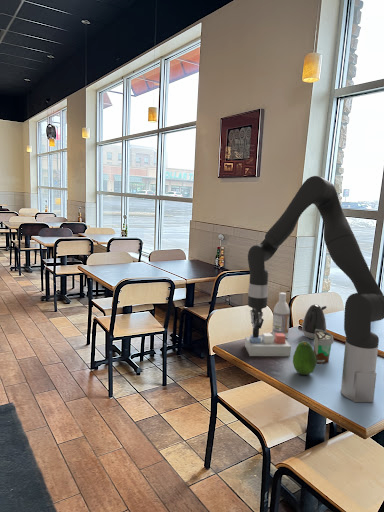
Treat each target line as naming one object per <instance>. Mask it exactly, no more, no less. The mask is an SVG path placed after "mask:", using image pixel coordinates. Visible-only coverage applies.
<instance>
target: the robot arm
mask: <svg viewBox="0 0 384 512" xmlns="http://www.w3.org/2000/svg"><path fill="white" fill-rule="evenodd" d="M298 189H299V190H298V191H297V192H296V193H295V195H294V197H293V198H292V200H291V201H290V203H289V204H288V206H287V207H286V209H285V210H284V212H283V213H282V214H281V216H280V217H279V218H278V219H277V220H276V221H275V223H274V224H273V225H272V226H271V227H270V228H269V230H267V232H266V233H265V235H264V239H263V240H262V241H261V242H260V243H259V244H255V245H252V246H251V247H250V248H249V249H248V251H247V252H248V253H247V263H248V269H249V284H248V289H247V290H248V291H247V294H248V295H247V306H248V307H249V308H251V309H250V311H249V312H250V320H251V322H250V323H251V325H252V335H253V337H259V336H260V329H262V327H263V324H264V318H263V316H264V312H263V309H266V308H267V306H268V295H269V294H268V291H269V288H268V281H269V273H268V270H267V269H266V267H265V262H268V261H269V260H270V259H271V258H273V256H274V255H275V253H276V252H277V250H278V249H279V247H280V246H281V245H282V244H284V242H285V241H286V240H287V239H288V238H289V237H290V235H292V233H293V231H295V229H296V226H297V223H298V221H299V219H300V218H301V215H302V214H303V213H304V211H306V210H307V208H309V207H310V206H311V205H315V207H316V208H317V210H318V212H319V213H320V217H321V218H322V221H323V239H324V243H325V246H326V249H327V252H328V253H329V256H330V258H331V260H332V262H333V263H334V265H336V266H337V267H338V269H340V270H341V272H343V273H344V275H346V276H347V277H348V278H349V280H350V281H351V282H352V285H353V287H354V288H355V290H356V292H354V293H352V294H349V296H348V297H347V298H346V301H345V304H344V317H343V318H344V319H343V329H344V334H345V343H344V344H345V345H344V353H343V362H342V363H343V364H342V376H341V385H340V393H341V395H342V396H343V397H345V398H347V399H349V400H351V401H352V402H353V403H374V401H375V391H376V390H375V389H376V381H377V372H376V370H377V369H376V368H377V360H378V352H379V343H380V339H379V336H378V335H377V334H376V333H374V332H373V331H371V330H372V329H371V327H372V326H371V325H372V322H379V321H382V320H384V293H383V291H382V290H381V288H380V286H379V285H378V283H377V281H376V279H375V277H374V276H373V273H372V272H371V270H370V267H369V265H368V263H367V261H366V259H365V257H364V255H363V253H362V250H361V247H360V244H359V243H358V240H357V238H356V237H355V234H354V232H353V229H352V228H351V226H350V224H349V221H348V219H347V217H346V215H345V213H344V211H343V209H342V206H341V202H340V198H339V196H338V192H337V189H336V187H335V185H334V184H333V183H332V182H331V181H330V180H328V179H326V178H324V177H321V176H320V175H313V176H310V177H308V178H307V179H306V180H305V181H304V182H302V185H301V186H300V188H298Z"/></svg>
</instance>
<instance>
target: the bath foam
mask: <svg viewBox="0 0 384 512" xmlns="http://www.w3.org/2000/svg"><path fill="white" fill-rule="evenodd" d="M286 300H287V293H286V292H278V301H277V303H276V304H275V305H274V307H273V316H272V328H271V329H272V333H271V334H272V335H273V337H275V333H283V334H284V335H285V336H286V338H285V340H287V338H288V337H289V328H290V315H291V313H290V306H289V305H288V303H287V301H286Z"/></svg>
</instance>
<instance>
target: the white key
mask: <svg viewBox="0 0 384 512" xmlns="http://www.w3.org/2000/svg"><path fill="white" fill-rule="evenodd" d="M261 337H262V342H263V343H268V344H273V335H272V333H271V332H262V336H261Z"/></svg>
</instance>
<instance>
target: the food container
mask: <svg viewBox="0 0 384 512" xmlns="http://www.w3.org/2000/svg"><path fill="white" fill-rule="evenodd" d="M313 342H314V343H313V351H314V353H315V356H316V365H326V364H328V363H329V361H330V355H331V350H332V345H333V344H334V336H333V335H332V334H331V333H330V332H328V331H327V330H326V331H323V330H318V329H315V340H314V341H313Z"/></svg>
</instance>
